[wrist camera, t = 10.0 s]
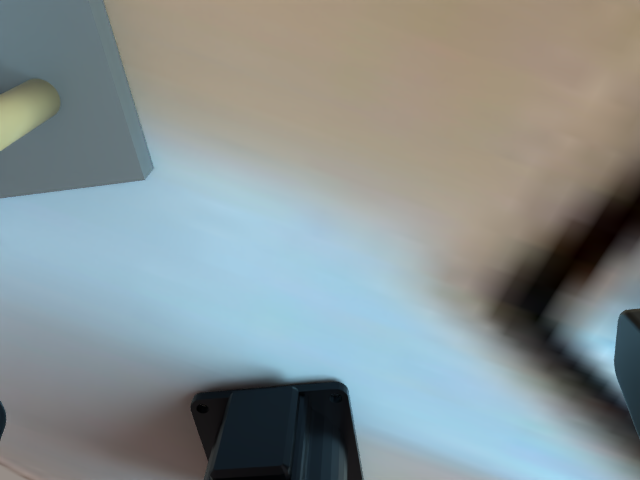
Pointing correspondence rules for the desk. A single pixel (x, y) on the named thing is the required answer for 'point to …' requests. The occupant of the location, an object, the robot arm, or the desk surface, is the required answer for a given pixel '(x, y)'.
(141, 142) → the pin cradle
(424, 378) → the desk surface
